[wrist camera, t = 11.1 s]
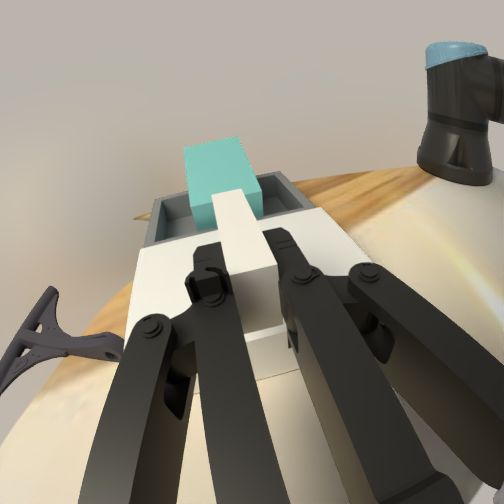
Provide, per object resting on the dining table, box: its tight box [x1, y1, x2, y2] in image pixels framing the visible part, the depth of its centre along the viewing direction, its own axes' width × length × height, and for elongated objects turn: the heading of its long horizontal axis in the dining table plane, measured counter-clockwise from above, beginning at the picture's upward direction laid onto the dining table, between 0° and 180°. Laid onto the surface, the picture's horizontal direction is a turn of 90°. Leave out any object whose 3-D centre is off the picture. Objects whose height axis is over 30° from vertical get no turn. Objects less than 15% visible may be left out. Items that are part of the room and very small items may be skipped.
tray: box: [144, 171, 316, 248], centre depth 31 cm, size 16×12×4 cm
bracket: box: [0, 286, 125, 396], centre depth 19 cm, size 14×15×3 cm
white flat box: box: [123, 207, 373, 394], centre depth 20 cm, size 16×12×4 cm
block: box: [183, 137, 263, 231], centre depth 29 cm, size 6×6×10 cm
